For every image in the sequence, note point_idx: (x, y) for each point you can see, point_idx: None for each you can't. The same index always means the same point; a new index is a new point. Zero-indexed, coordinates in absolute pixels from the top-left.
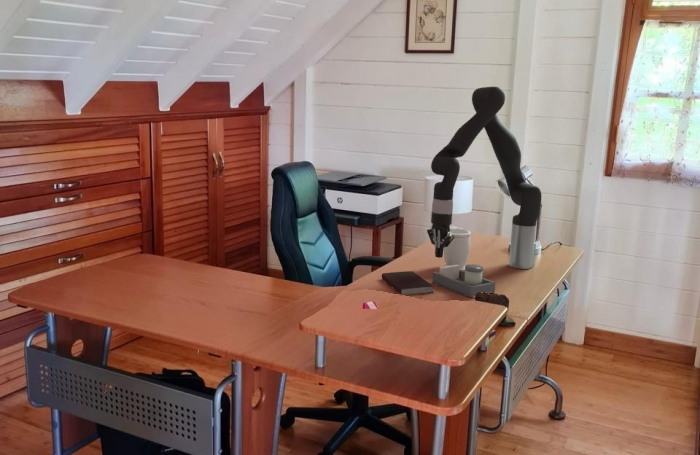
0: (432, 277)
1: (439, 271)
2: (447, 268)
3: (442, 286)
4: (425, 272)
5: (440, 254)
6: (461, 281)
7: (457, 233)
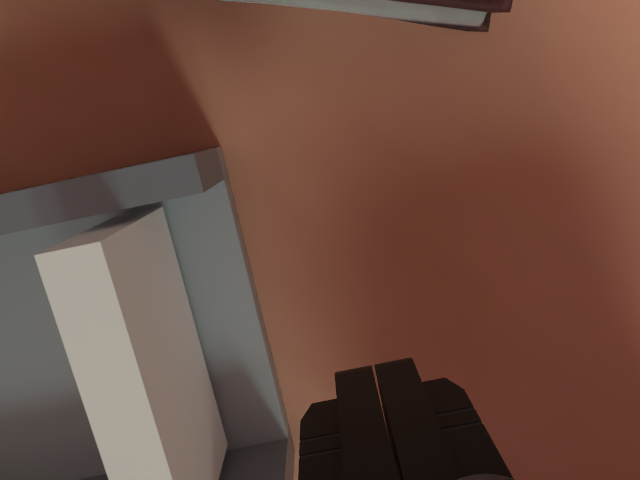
0: (209, 150)
1: (125, 228)
2: (72, 349)
3: (51, 182)
4: (593, 267)
5: (304, 441)
6: None
7: None
